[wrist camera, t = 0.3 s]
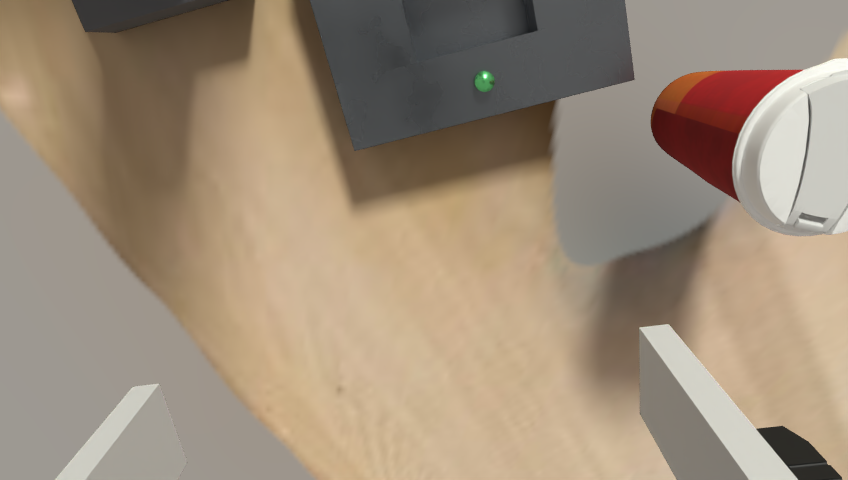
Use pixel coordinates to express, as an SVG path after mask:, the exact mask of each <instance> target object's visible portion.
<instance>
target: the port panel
mask: <svg viewBox="0 0 848 480" xmlns="http://www.w3.org/2000/svg"><path fill="white" fill-rule="evenodd" d="M310 3H311V6H312V9H313V13H314V16H315V19H316V23H317V26H318V29H319V33H320V36H321V40H322V43H323V46H324V50H325V53H326V56H327V60H328V63H329V66H330V70H331V73H332V77H333V80H334V83H335V87H336V90H337V93H338V97H339V100H340V103H341V107H342V110H343V113H344V117H345V120H346V124H347V127H348V130H349V134H350V137H351V140H352V144H353V147H354V150H355V151H356V150H360V149H364V148H368V147H372V146H376V145H380V144H384V143H388V142H392V141H396V140H400V139H404V138H408V137H411V136H415V135H419V134H423V133H427V132H431V131H435V130H439V129H443V128H447V127H451V126H455V125H459V124H463V123H466V122H470V121H474V120H478V119H482V118H486V117H490V116H494V115H498V114H502V113H506V112H510V111H514V110H517V109H521V108H525V107H529V106H533V105H537V104H541V103H545V102H549V101H553V100H557V99H561V98H565V97H569V96H572V95H576V94H580V93H584V92H588V91H592V90H596V89H600V88H604V87H608V86H611V85H616V84H620V83H623V82H627V81H631V80H634V71H633V63H632V55H631V47H630V40H629V31H628V23H627V15H626V7H625V0H310Z"/></svg>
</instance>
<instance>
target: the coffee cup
mask: <svg viewBox="0 0 848 480" xmlns="http://www.w3.org/2000/svg"><path fill="white" fill-rule="evenodd" d="M651 129H652V133H653V136H654V138H655V140H656V142H657V143H658V145H659V146H660V147H661V148H662V149H663V150H664V151H665V152H666V153H667V154H669V155H670V156H671V157H673V158H674V159H676V160H677V161H678V162H680V163H681V164H683V165H684V166H686V167H687V168H689V169H690V170H692V171H693V172H694V173H696V174H697V175H698V176H700V177H701V178H702V179H704V180H705V181H707V182H708V183H710V184H711V185H713V186H714V187H716V188H718V189H720V190H721V191H723V192H724V193H726V194H728V195H729V196H731V197H733V198H734V199H736V200H737V201H739V202H740V203H741V204H742V206H743V208H744V209H745V210H746V211H747V213H748V214H749V215H750V216H751V217H752V218H753V219H754V220H756V221H757V222H758V223H760V224H761V225H762V226H764V227H766V228H768V229H770V230H772V231H775V232H778V233H782V234H785V235H792V236H814V235H820V234H826V235H831V234H837V233H842V232H846V231H848V58H843V59H833V60H831V61H828V62H825V63H822V64H820V65H817V66H814V67H811V68H808V69H805V70H743V71H742V70H739V71H708V72H707V71H706V72H696V73H691V74H687V75H685V76H682V77H680V78H678V79H676V80H675V81H673V82H672V83H670V84H669V85H668V86H667V87H666V88H665V89H664V90H663V91H662V92H661V94H660V95H659V97H658V98H657V100H656V102H655V104H654V107H653V110H652V114H651Z"/></svg>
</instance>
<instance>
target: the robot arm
mask: <svg viewBox="0 0 848 480" xmlns="http://www.w3.org/2000/svg"><path fill="white" fill-rule="evenodd" d="M639 360H640V415H641V417H642V418H643V420H644V422H645V424H646V426H647V427H648V429H649V431H650V433H651V434H652V436H653V438H654V440H655V442H656V443H657V445H658V447H659V449H660V451H661V452H662V454H663V456H664V458H665V459H666V461H667V463H668V465H669V467H670V468H671V470H672V472H673V474H674V476H675V477H676V479H677V480H842V477H841V476H840V475H839V474H838V473H837V472H836V471H835V470H834V469H833V467H832V466H831V465H828V464H827V461H826V460H825V459H824V458H823V457H822V456H821V455H820V454H819V452H818V451H817V450H816V449H815V448H814V447H813V446H812V445H811V444H810V443H809V442H808V441H806V440H805V439H803V438H802V437H800V436H798V435H797V434H795V433H793V432H792V431H790V430H788V429H787V428H785V427H784V426H778V427H768V428H759V429H756V428H755V427H754V426H753V425H752V424H751V422H750V421H749V420H748V419H747V418H746V416H745V415H744V414H743V413H742V412H741V410H740V409H739V408H738V407H737V406H736V404H735V403H734V402H733V401H732V400H731V398H730V397H729V396H728V395H727V394H726V392H725V391H724V390H723V389H722V388H721V386H720V385H719V384H718V383H717V382H716V380H715V379H714V378H713V377H712V376H711V374H710V373H709V372H708V371H707V370H706V368H705V367H704V366H703V365H702V364H701V362H700V361H699V360H698V359H697V358H696V356H695V355H694V354H693V353H692V352H691V350H690V349H689V348H688V347H687V346H686V344H685V343H684V342H683V341H682V340H681V338H680V337H679V336H678V335H677V334H676V332H675V331H674V330H673V329H672V327H671V326H670V325H669V324H665V325H657V326H648V327H640V328H639ZM186 464H187V460H186V457H185V454H184V451H183V449H182V446H181V443H180V441H179V437H178V434H177V432H176V429H175V426H174V423H173V420H172V417H171V415H170V412H169V409H168V406H167V403H166V400H165V398H164V395H163V392H162V389H161V387H160V384H151V385H143V386H134V387H132V388H131V390H130V391H129V392H128V393H127V394H126V395H125V397H124V398H123V399H122V400H121V401H120V402H119V404H118V405H117V406H116V407H115V408H114V410H113V411H112V412H111V413H110V415H109V416H108V417H107V418H106V419H105V421H104V422H103V423H102V424H101V425H100V427H98V429H97V430H96V431H95V432H94V433H93V435H92V436H91V437H90V438H89V439H88V441H87V442H86V443H85V444H84V445H83V447H82V448H81V449H80V450H79V452H77V454H76V455H75V456H74V457H73V458H72V460H71V461H70V462H69V463H68V464H67V466H66V467H65V468H64V469H63V470H62V471H61V473H60V474H59V475H58V476H57V477H56V479H55V480H178V479H179V477H180V475H181V473H182V472H183V470H184V468H185V466H186Z"/></svg>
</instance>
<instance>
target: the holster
mask: <svg viewBox="0 0 848 480" xmlns="http://www.w3.org/2000/svg"><path fill="white" fill-rule="evenodd" d="M224 1H228V0H72V2H73V4H74V7H75V9H76V11H77V14H78V16H79V18H80V21H81V23H82V25H83V28H84V30H85V32H111V33H116V32H119V31H123V30H126V29H130V28H133V27H137V26H140V25H144V24H147V23H151V22H154V21H158V20H161V19H165V18H168V17H172V16H175V15H179V14H182V13H186V12H189V11H193V10H196V9H200V8H203V7H207V6H210V5H214V4H217V3H221V2H224Z"/></svg>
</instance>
